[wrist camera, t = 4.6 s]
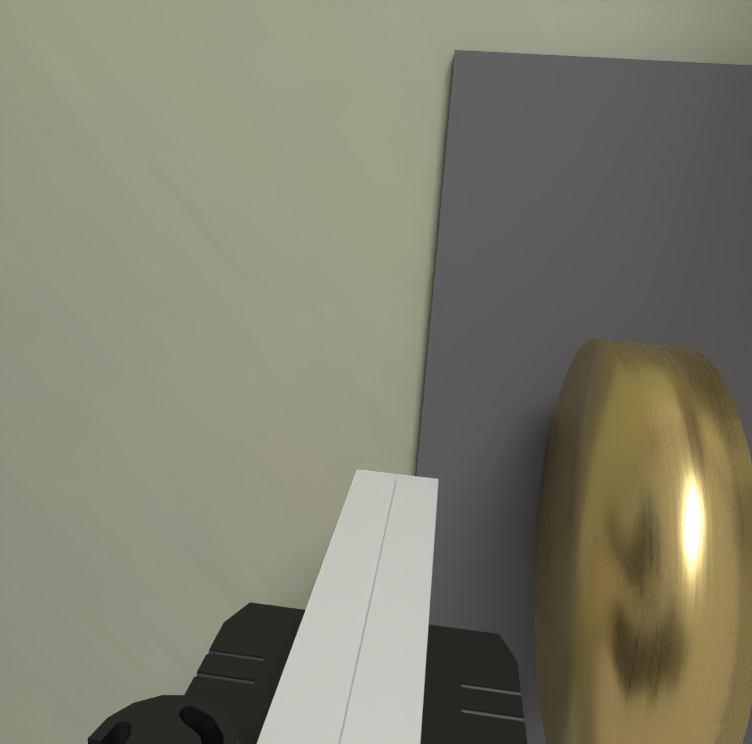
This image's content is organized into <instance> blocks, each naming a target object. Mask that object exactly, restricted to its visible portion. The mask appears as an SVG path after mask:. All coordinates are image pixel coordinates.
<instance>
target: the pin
mask: <svg viewBox="0 0 752 744" xmlns="http://www.w3.org/2000/svg"><path fill="white" fill-rule="evenodd" d="M535 648H536V667H537V680H538V691H539V701H540V710H541V716H542V723H543V730H544V735H545V740H546V744H742V743H743V740H744V737H745V733H746V730H747V727H748V722H749V717H750V713H751V708H752V463H751V458H750V452H749V448H748V445H747V441H746V438H745V434H744V430H743V427H742V423H741V420H740V417H739V415H738V412H737V410H736V407H735V404H734V402H733V399H732V396H731V394H730V392H729V391H728V389H727V387H726V385H725V383H724V381H723V379H722V377H721V375H720V374H719V373H718V371H717V370H716V369H715V367H714V366H713V365H712V363H711V362H710V361H709V360H708V359H707V358H706V357H704V356H703V355H702V354H701V353H700V352H698V351H696V350H694V349H692V348H690V347H683V346H672V345H661V344H649V343H638V342H627V341H615V340H604V339H591V340H589V341H587V342H585V343H584V344H583V345H582V346H581V347H580V349H579V350H578V352H577V353H576V355H575V356H574V358H573V360H572V362H571V365H570V367H569V369H568V371H567V374H566V377H565V379H564V382H563V385H562V388H561V391H560V394H559V398H558V402H557V406H556V409H555V413H554V418H553V422H552V427H551V431H550V437H549V442H548V447H547V454H546V460H545V466H544V473H543V481H542V489H541V498H540V507H539V518H538V530H537V546H536V566H535Z"/></svg>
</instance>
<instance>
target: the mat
mask: <svg viewBox="0 0 752 744" xmlns="http://www.w3.org/2000/svg"><path fill="white" fill-rule="evenodd" d="M591 339H604V340H615V341H627V342H638V343H649V344H661V345H672V346H683V347H690V348H692V349H694V350H696V351H698V352H700V353H701V354H702V355H703V356H704V357H706V358H707V359H708V360H709V361H710V362H711V363H712V365H713V366H714V367H715V369H716V370H717V371H718V373H719V374H720V375H721V377H722V379H723V381H724V383H725V385H726V387H727V389H728V391H729V392H730V394H731V396H732V399H733V402H734V404H735V407H736V410H737V412H738V415H739V417H740V420H741V423H742V427H743V430H744V434H745V438H746V441H747V445H748V448H749V452H750V458H751V463H752V66H749V65H730V64H711V63H691V62H672V61H653V60H634V59H615V58H596V57H577V56H558V55H539V54H520V53H500V52H481V51H462V50H455V54H454V65H453V76H452V87H451V98H450V109H449V120H448V131H447V142H446V153H445V164H444V175H443V186H442V197H441V208H440V219H439V230H438V241H437V252H436V263H435V274H434V285H433V297H432V308H431V319H430V330H429V341H428V352H427V363H426V374H425V385H424V396H423V407H422V418H421V429H420V440H419V451H418V462H417V473H416V476H417V477H426V478H435V479H438V494H437V508H436V523H435V537H434V552H433V566H432V581H431V595H430V610H429V624H430V625H437V626H445V627H452V628H459V629H467V630H474V631H481V632H489V633H496V634H499V635H500V637H501V638H502V639H503V641H504V642H505V644H506V645H507V647H508V648H509V650H510V651H511V653H512V654H513V656H514V657H515V659H516V660H517V665H518V673H519V681H520V689H521V697H522V704H523V712H524V723H525V728H526V736H527V744H546V740H545V735H544V730H543V723H542V716H541V710H540V701H539V691H538V680H537V667H536V648H535V566H536V546H537V530H538V518H539V507H540V498H541V489H542V481H543V473H544V466H545V460H546V454H547V447H548V442H549V437H550V431H551V427H552V422H553V418H554V413H555V409H556V406H557V402H558V398H559V394H560V391H561V388H562V385H563V382H564V379H565V377H566V374H567V371H568V369H569V367H570V365H571V362H572V360H573V358H574V356H575V355H576V353H577V352H578V350H579V349H580V347H581V346H582V345H583V344H584V343H585V342H587V341H589V340H591ZM742 744H752V708H751V713H750V717H749V722H748V727H747V730H746V733H745V737H744V740H743V743H742Z"/></svg>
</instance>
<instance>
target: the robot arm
mask: <svg viewBox="0 0 752 744" xmlns="http://www.w3.org/2000/svg"><path fill="white" fill-rule="evenodd" d="M437 494H438V479H435V478H426V477H417V476H409V475H400V474H392V473H383V472H374V471H366V470H357V471H356V474H355V476H354V479H353V482H352V484H351V487H350V490H349V493H348V495H347V498H346V501H345V504H344V506H343V509H342V512H341V515H340V517H339V520H338V523H337V525H336V528H335V531H334V534H333V536H332V539H331V542H330V545H329V547H328V550H327V553H326V556H325V558H324V561H323V564H322V567H321V569H320V572H319V575H318V577H317V580H316V583H315V586H314V588H313V591H312V594H311V597H310V599H309V602H308V605H307V608H306V610H301V609H294V608H287V607H280V606H272V605H265V604H258V603H249V604H247V605H246V606H245V607H243V608H242V609H241V610H240V611H238V612H237V613H236V614H234V615H233V616H232V617H231V618H229V619H228V620H227V621H225V622H224V623H223V625H222V627H221V629H220V631H219V633H218V634H217V636H216V638H215V640H214V642H213V644H212V645H211V647H210V650H209V654H207V655H206V656H205V658H204V660H203V662H202V664H201V666H200V667H199V669H198V671H197V676H196V677H194V678H193V680H192V682H191V684H190V686H189V688H188V689H187V691H186V693H185V695H161V696H158V697H154V698H150V699H146V700H143V701H139V702H135V703H133V704H131V705H129V706H127V707H126V708H124V709H122V710H120V711H119V712H117V713H115V714H113V715H112V716H110V717H108V718H107V719H106V720H105V721H104V722H103V723H102V724H101V725H100V726H99V727H98V728H97V729H96V730H95V731H94V733H93V734H92V735H91V736H90V737H89V738H88V744H527V736H526V728H525V723H524V712H523V704H522V697H521V689H520V681H519V673H518V665H517V660H516V659H515V657H514V656H513V654H512V653H511V651H510V650H509V648H508V647H507V645H506V644H505V642H504V641H503V639H502V638H501V637H500V635H499V634H496V633H489V632H481V631H474V630H467V629H459V628H452V627H445V626H437V625H430V624H429V610H430V595H431V581H432V566H433V552H434V537H435V523H436V508H437Z"/></svg>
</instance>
